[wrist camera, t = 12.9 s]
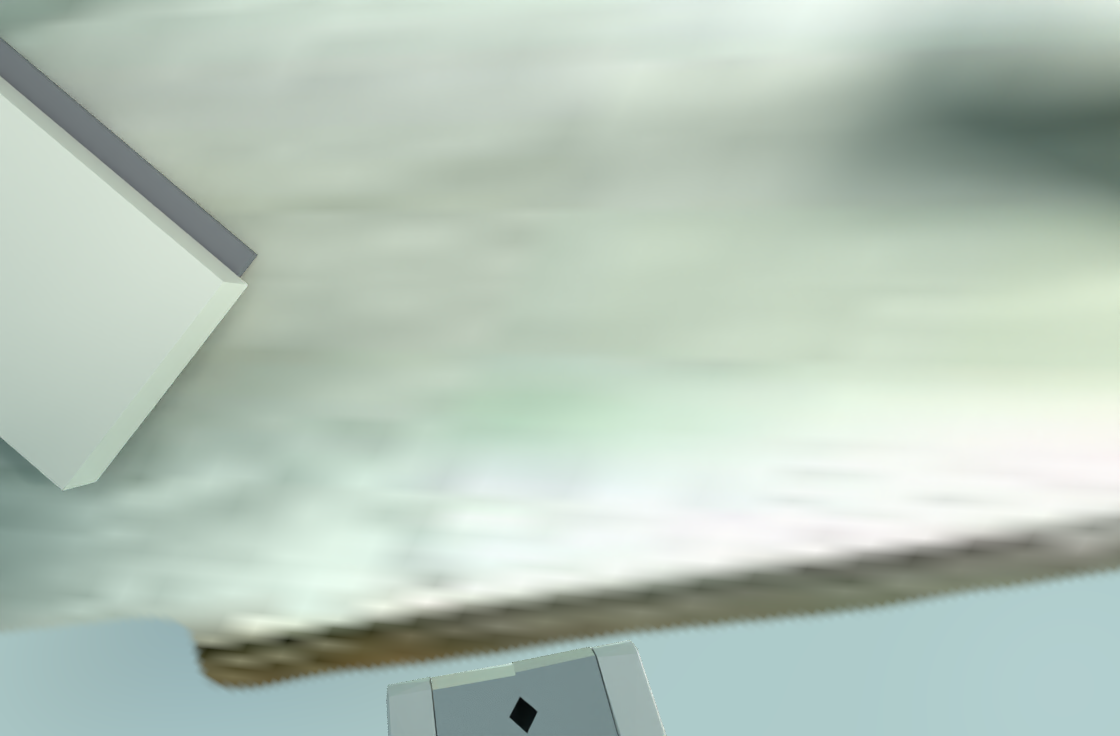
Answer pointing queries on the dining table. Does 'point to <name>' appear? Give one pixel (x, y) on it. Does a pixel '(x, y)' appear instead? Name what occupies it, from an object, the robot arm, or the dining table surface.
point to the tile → (89, 299)
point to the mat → (123, 160)
